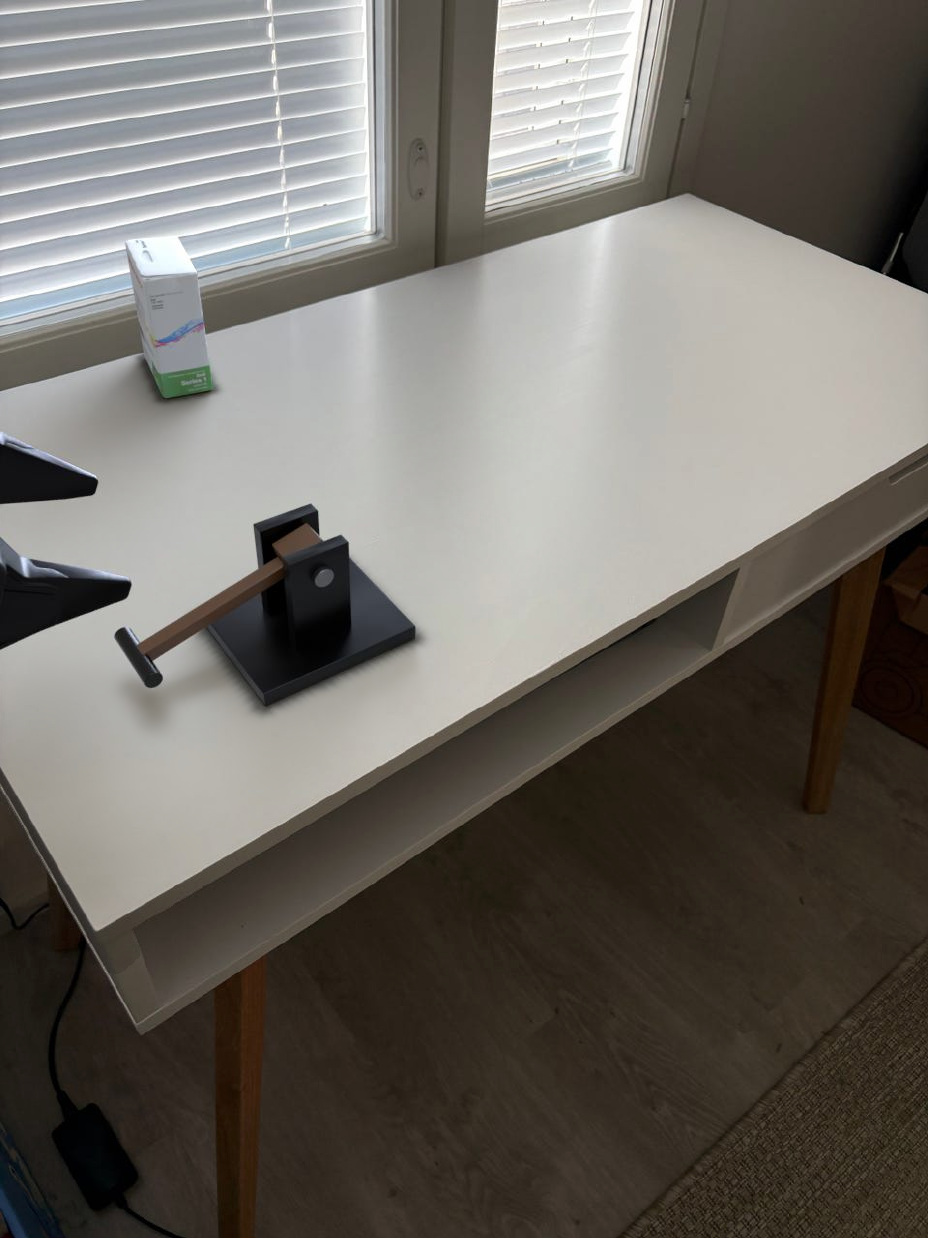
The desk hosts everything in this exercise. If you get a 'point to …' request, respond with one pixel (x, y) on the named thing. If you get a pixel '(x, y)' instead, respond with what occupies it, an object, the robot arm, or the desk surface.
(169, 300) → the ink box
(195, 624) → the lever
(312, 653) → the bracket
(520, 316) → the desk surface
